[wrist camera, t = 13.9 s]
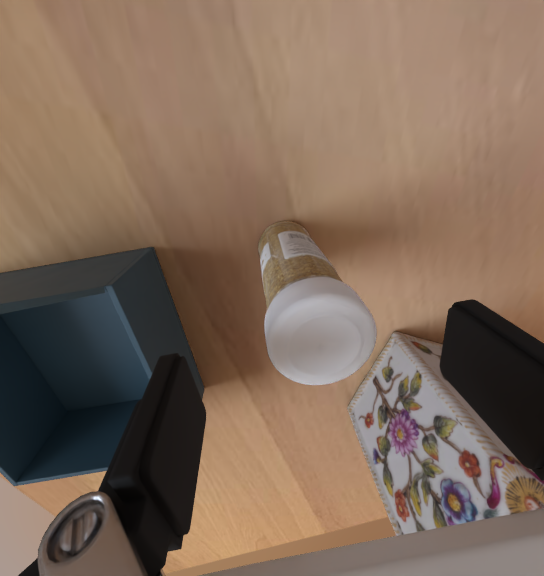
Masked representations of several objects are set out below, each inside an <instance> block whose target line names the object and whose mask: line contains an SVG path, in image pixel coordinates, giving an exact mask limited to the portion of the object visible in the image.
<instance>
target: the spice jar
mask: <svg viewBox="0 0 544 576" xmlns="http://www.w3.org/2000/svg"><path fill="white" fill-rule="evenodd" d="M258 253H259V257H260V263H261V272H262V280H263V288H264V293H265V297H266V306H267V313H266V316H265V323H264V324H265V338H266V345H267V351H268V355H269V357H270V360H271V362H272V363H273V365H274V366H275V368H276V369H277V370H278V371H279V372H280V373H281V374H282V375H284V376H285V377H287V378H289V379H291V380H293V381H295V382H298V383H302V384H306V385H324V384H330V383H334V382H337V381H340V380H342V379H344V378H346V377H348V376H350V375H352V374H353V373H354V372H356V371H357V370H358V369H359V368H361V367H362V365H363V364H364V363H365V362H366V361H367V360H368V358H369V357H370V355H371V353H372V351H373V349H374V346H375V342H376V334H377V333H376V325H375V321H374V319H373V316H372V314H371V313H370V311H369V310H368V308H367V307H366V305H365V304H364V302H363V301H362V300H361V298H360V297H359V296H358V294H357V293H356V292H355V291H354V290H353V289H352V288H351V287H350V286H348V285H347V284H345V283H343V281H342V280H341V279H340V277H339V276H338V274H337V272H336V270H335V268H334V267H333V265H332V264H331V263H330V262H329V260H328V259H327V258H326V257H325V255H324V254H323V253H322V251H321V250H320V249H319V248H318V246H317V245H316V244H315V242H314V241H313V240H312V239H311V237H310V235H309V233H308V232H307V230H306V229H304V228H303V227H302V226H301V225H299V224H298V223H295V222H291V221H282V222H277V223H275V224H273V225H271V226H269V227H268V228H267V229H266V230H265V231H264V232H263V234H262V236H261V238H260V241H259V244H258Z"/></svg>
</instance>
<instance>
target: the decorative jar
mask: <svg viewBox="0 0 544 576" xmlns="http://www.w3.org/2000/svg"><path fill="white" fill-rule="evenodd" d="M442 346H443V344H440V343H436V342H432V341H429V340H425V339H420V338H417V337H413V336H410V335H407V334H402V333H400V332H393V334H392V336H391V337H390V339H389V341H388V342H387V345H386V346H385V347H384V349H383V350H382V352H381V353H380V355H379V357H378V358H377V360H376V361H375V363H374V365H373V366H372V368H371V369H370V371H369V373H368V374H367V376H366V377H365V379H364V381H363V382H362V383H361V385H360V387H359V389H358V390H357V392H356V394H355V395H354V397H353V399H352V400H351V402H350V404H349V405H348V408H347V409H348V412H349V415H350V418H351V420H352V423H353V426H354V429H355V432H356V434H357V437H358V440H359V443H360V445H361V448H362V451H363V453H364V456H365V459H366V461H367V464H368V467H369V469H370V472H371V474H372V477H373V479H374V482H375V484H376V486H377V489H378V492H379V494H380V497H381V500H382V502H383V504H384V506H385V509H386V512H387V514H388V517H389V519H390V521H391V524H392V526H393V528H394V531H395V533H396V536H399V535H404V534H409V533H414V532H420V531H425V530H430V529H436V528H441V527H446V526H452V525H457V524H462V523H467V522H473V521H478V520H483V519H489V518H494V517H500V516H505V515H511V514H516V513H521V512H527V511H532V510H538V509H543V508H544V481H541V479H540V478H539V477H538V476H537V475H536V474H535V473H534V472H533V471H532V469H528V468H526V467H525V466H523V465H522V464H521V463H520V462H519V460H518V459H517V458H516V457H515V456H514V455H513V454H512V453H511V451H510V450H509V449H508V448H507V447H506V446H505V445H504V443H503V442H502V441H501V440H500V439H499V438H498V437H497V436H496V434H495V433H494V432H493V431H492V430H491V429H490V428H489V427H488V425H487V424H486V423H485V422H484V421H483V420H482V419H481V418H480V416H479V415H478V414H477V413H476V412H475V411H474V410H473V409H472V407H471V406H470V405H469V404H468V403H467V402H466V401H465V400H464V398H463V397H462V396H461V395H460V394H459V393H458V392H457V391H456V389H455V388H454V387H453V386H452V385H451V384H450V383H449V382H448V380H447V379H446V378H445V377H444V376H443V375H442V373H441V371H440V359H441V352H442Z"/></svg>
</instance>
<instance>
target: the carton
mask: <svg viewBox="0 0 544 576" xmlns="http://www.w3.org/2000/svg"><path fill="white" fill-rule="evenodd" d="M99 287H104V289H105V293H103V294H98V295H93V296H88V297H83V298H78V299H73V300H68V301H63V302H58V303H53V304H48V305H43V306H38V307H33V308H28V309H23V310H19V311H14V312H9V313H4V314H0V473H1V474H2V475H3V476H4V477H5V478H6V479H7V480H8V481H9V482H10V483H11V484H12V485H13V486H18V485H24V484H30V483H36V482H42V481H48V480H54V479H60V478H66V477H72V476H78V475H84V474H90V473H96V472H102V471H107V469H108V467H109V465H110V463H111V460H112V458H113V456H114V453H115V451H116V449H117V446H118V444H119V442H120V439H121V437H122V435H123V433H124V430H125V428H126V426H127V423H128V421H129V419H130V416H131V414H132V412H133V409H134V407H135V405H136V404H137V402H138V401H139V400H140V399H142V397H143V395H144V392H145V390H146V388H147V385H148V383H149V380H150V378H151V376H152V373H153V371H154V368H155V366H156V364H157V361H158V359H159V357H160V356H163V355H168V354H174V353H178V354H179V355H180V357H181V356H184V357H185V358H186V360H187V363H188V366H189V368H190V371H191V373H192V376H193V378H194V381H195V384H196V386H197V389H198V391H199V394H200V397H201V399H202V398H203V393H204V385H203V383H202V380H201V377H200V374H199V372H198V369H197V366H196V363H195V361H194V358H193V355H192V352H191V350H190V347H189V344H188V341H187V338H186V336H185V333H184V330H183V327H182V325H181V322H180V319H179V316H178V314H177V311H176V308H175V305H174V302H173V300H172V297H171V294H170V291H169V289H168V286H167V283H166V280H165V278H164V275H163V272H162V269H161V267H160V264H159V261H158V258H157V255H156V253H155V250H154V247H149V248H143V249H137V250H131V251H125V252H120V253H114V254H108V255H102V256H97V257H91V258H85V259H79V260H73V261H68V262H62V263H56V264H50V265H44V266H39V267H33V268H27V269H21V270H16V271H10V272H4V273H0V303H6V302H13V301H19V300H25V299H31V298H37V297H43V296H50V295H56V294H62V293H68V292H74V291H80V290H86V289H93V288H99Z"/></svg>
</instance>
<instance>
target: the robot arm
mask: <svg viewBox="0 0 544 576" xmlns="http://www.w3.org/2000/svg"><path fill="white" fill-rule="evenodd" d="M440 371H441V373H442V375H443V376H444V377H445V378H446V379H447V380H448V382H449V383H450V384H451V385H452V386H453V387H454V388H455V389H456V391H457V392H458V393H459V394H460V395H461V396H462V397H463V398H464V400H465V401H466V402H467V403H468V404H469V405H470V406H471V407H472V409H473V410H474V411H475V412H476V413H477V414H478V415H479V416H480V418H481V419H482V420H483V421H484V422H485V423H486V424H487V425H488V427H489V428H490V429H491V430H492V431H493V432H494V433H495V434H496V436H497V437H498V438H499V439H500V440H501V441H502V442H503V443H504V445H505V446H506V447H507V448H508V449H509V450H510V451H511V453H512V454H513V455H514V456H515V457H516V458H517V459H518V460H519V462H520V463H521V464H522V465H523V466H525V467H526V468H528V469H532V471H533V472H534V473H535V474H536V475H537V476H538V477H539V478H540V479H541V481H544V343H542V342H540V341H539V340H537V339H536V338H534V337H533V336H531V335H529V334H528V333H526V332H525V331H523V330H522V329H520V328H519V327H517V326H515V325H514V324H512V323H511V322H509V321H508V320H506V319H504V318H503V317H501V316H500V315H498V314H497V313H495V312H494V311H492V310H490V309H489V308H487V307H486V306H484V305H483V304H481V303H479V302H478V301H476V300H466V301H460V302H456V303H454V304H453V305H452V307H451V308H450V309H449V310H448V315H447V322H446V328H445V334H444V340H443V346H442V352H441V359H440ZM205 422H206V410H205V407H204V404H203V402H202V399H201V397H200V394H199V391H198V389H197V386H196V384H195V381H194V378H193V376H192V373H191V371H190V368H189V366H188V363H187V360H186V358H185V357H184V356H181V357H180V355H179V354H178V353H174V354H168V355H163V356H160V357H159V359H158V361H157V364H156V366H155V368H154V371H153V373H152V376H151V378H150V380H149V383H148V385H147V388H146V390H145V392H144V395H143V397H142V399H140V400H139V401H138V402H137V404H136V405H135V407H134V409H133V412H132V414H131V416H130V419H129V421H128V423H127V426H126V428H125V430H124V433H123V435H122V437H121V439H120V442H119V444H118V446H117V449H116V451H115V453H114V456H113V458H112V460H111V463H110V465H109V467H108V469H107V472H106V474H105V476H104V479H103V481H102V483H101V486H100V488H99V490H98V491H97V492H90V493H87V494H85V495H82V496H80V497H79V498H77V499H76V500H74V501H73V502H71V503H70V504H69V505H67V506H66V507H65V508H64V509H63V510H62V511H61V512H60V513H59V514H58V515H57V516H56V518H55V519H54V520H53V521H52V523H51V524H50V525H49V527H48V529H47V531H46V532H45V534H44V536H43V538H42V540H41V543H40V546H39V549H38V558H37V559H36V560H35V561H34V562H33V563H32V564H31V565H29V566H28V567H27V568H26V569H25V570H24V571H23V572H22V573H21V574H19V576H166V575H165V573H164V571H163V569H162V568H163V567H164V565H165V562H166V557H167V552H168V551H173V550H178V549H181V547H182V541H183V535H185V534H188V532H189V530H190V525H191V518H192V512H193V505H194V498H195V491H196V484H197V477H198V470H199V464H200V457H201V450H202V443H203V436H204V429H205ZM199 576H544V508H543V509H538V510H532V511H527V512H521V513H516V514H511V515H505V516H500V517H494V518H489V519H483V520H478V521H473V522H467V523H462V524H457V525H452V526H446V527H441V528H436V529H430V530H425V531H420V532H414V533H409V534H404V535H399V536H393V537H388V538H383V539H378V540H372V541H368V542H362V543H357V544H352V545H347V546H342V547H336V548H331V549H326V550H321V551H316V552H311V553H306V554H300V555H295V556H290V557H285V558H280V559H275V560H270V561H265V562H260V563H254V564H250V565H246V566H241V567H236V568H232V569H227V570H222V571H218V572H213V573H208V574H204V575H199Z"/></svg>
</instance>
